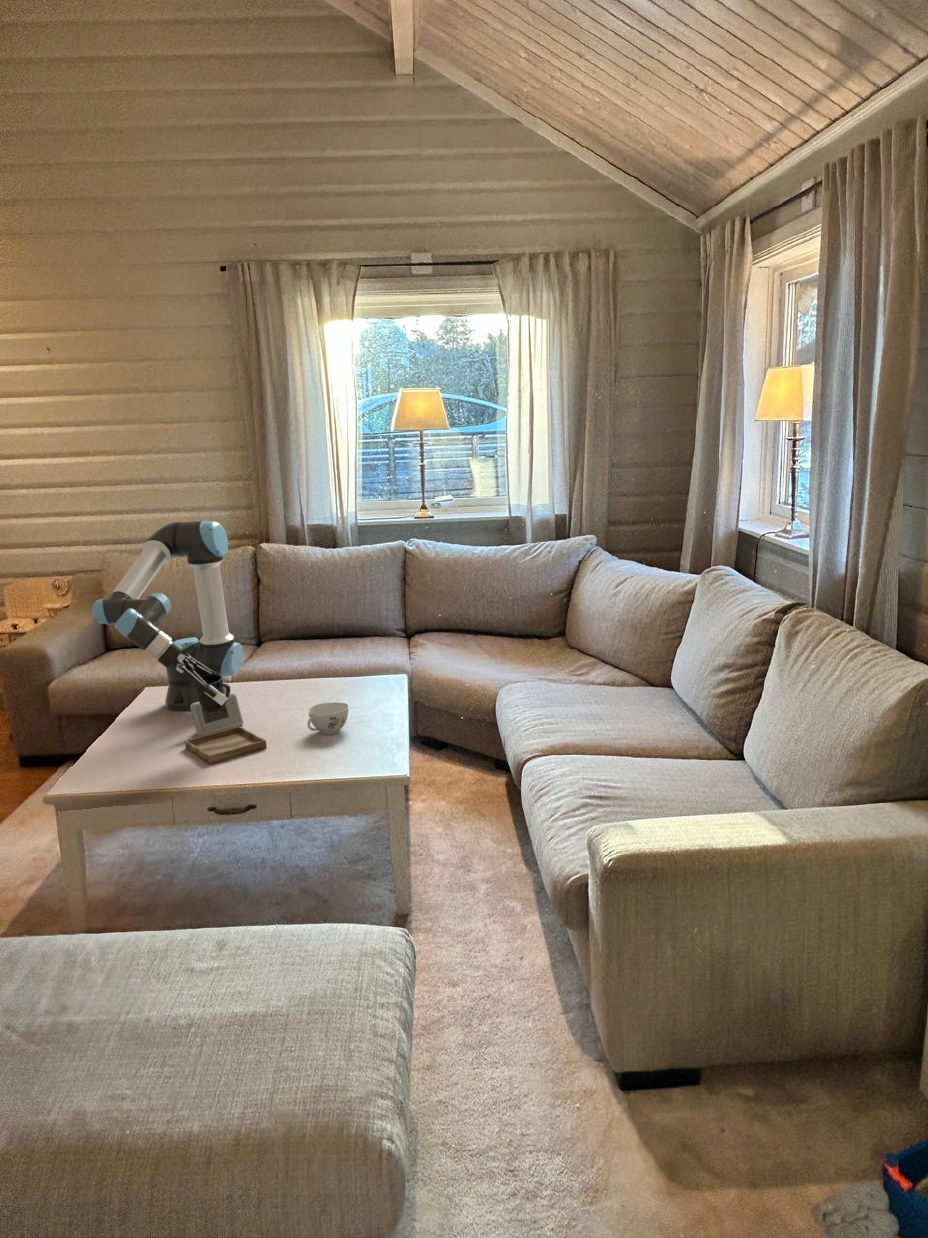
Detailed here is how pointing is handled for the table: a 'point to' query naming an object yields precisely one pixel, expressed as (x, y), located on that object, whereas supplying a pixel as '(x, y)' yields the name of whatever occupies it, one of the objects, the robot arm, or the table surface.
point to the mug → (207, 701)
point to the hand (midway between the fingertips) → (226, 696)
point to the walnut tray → (225, 745)
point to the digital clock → (217, 717)
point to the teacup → (328, 717)
